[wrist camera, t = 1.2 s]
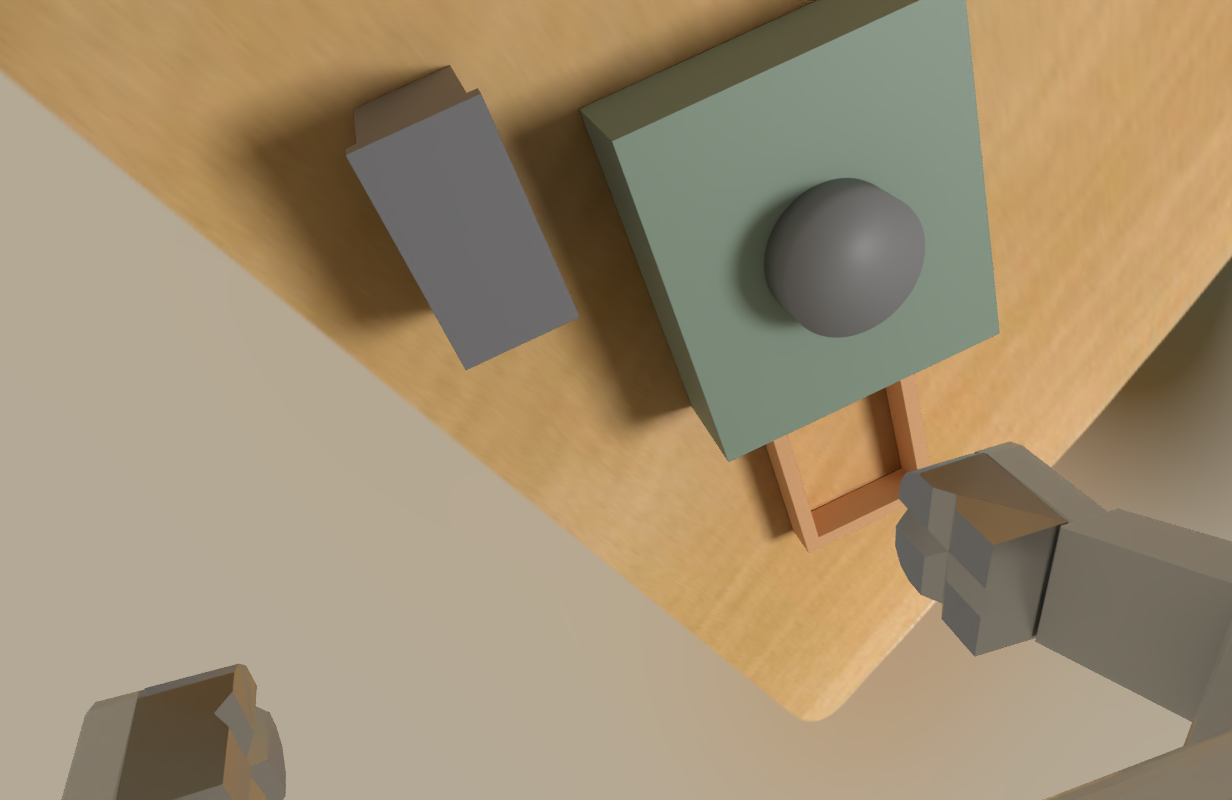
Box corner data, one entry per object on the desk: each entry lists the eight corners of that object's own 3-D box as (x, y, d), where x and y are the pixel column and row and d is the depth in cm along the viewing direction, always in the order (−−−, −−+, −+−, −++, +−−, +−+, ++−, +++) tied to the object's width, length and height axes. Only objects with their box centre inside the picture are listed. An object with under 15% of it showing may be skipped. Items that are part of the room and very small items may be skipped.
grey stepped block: (459, 60, 33) (480, 93, 28) (548, 260, 38) (579, 317, 33) (343, 112, 33) (345, 155, 28) (449, 306, 38) (465, 370, 33)
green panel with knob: (890, -34, 35) (999, -14, 30) (961, 450, 51) (1041, 524, 45) (579, 108, 35) (627, 157, 29) (747, 552, 51) (800, 640, 45)
